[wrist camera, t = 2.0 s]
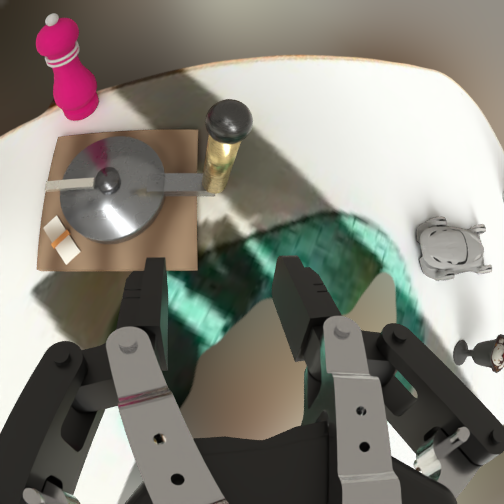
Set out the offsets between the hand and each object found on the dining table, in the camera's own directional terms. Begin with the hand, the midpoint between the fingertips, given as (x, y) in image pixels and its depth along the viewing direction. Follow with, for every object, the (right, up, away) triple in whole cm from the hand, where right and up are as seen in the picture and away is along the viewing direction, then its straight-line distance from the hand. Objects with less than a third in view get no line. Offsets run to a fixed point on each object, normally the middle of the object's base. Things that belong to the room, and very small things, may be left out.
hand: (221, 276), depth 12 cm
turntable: (-14, +9, +24) cm, 29 cm away
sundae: (+41, -18, +33) cm, 56 cm away
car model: (+40, +1, +37) cm, 54 cm away
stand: (-17, +8, +25) cm, 32 cm away
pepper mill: (-27, +25, +27) cm, 45 cm away
